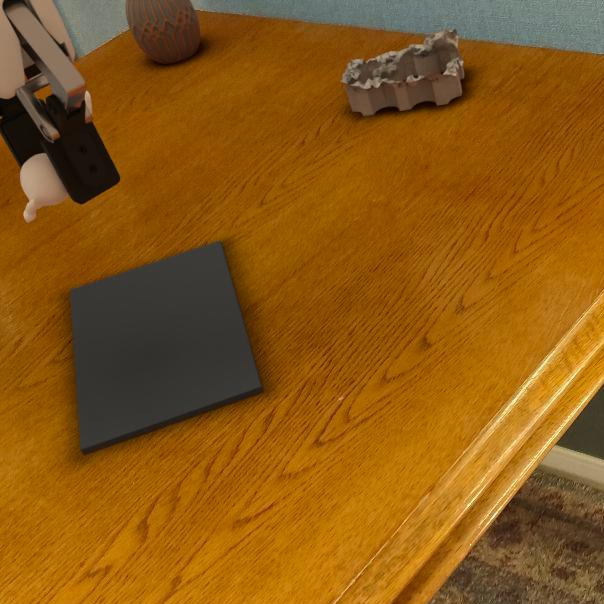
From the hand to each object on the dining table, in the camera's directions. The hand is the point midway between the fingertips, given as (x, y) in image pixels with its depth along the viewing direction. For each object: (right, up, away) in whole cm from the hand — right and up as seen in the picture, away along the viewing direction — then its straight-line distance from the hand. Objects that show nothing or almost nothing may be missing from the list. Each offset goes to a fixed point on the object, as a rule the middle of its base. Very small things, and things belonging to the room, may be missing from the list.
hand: (73, 179), depth 62 cm
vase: (-9, +29, +44) cm, 54 cm away
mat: (+2, -8, +9) cm, 13 cm away
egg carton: (+17, +18, +30) cm, 39 cm away
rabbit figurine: (+1, -1, +1) cm, 1 cm away
